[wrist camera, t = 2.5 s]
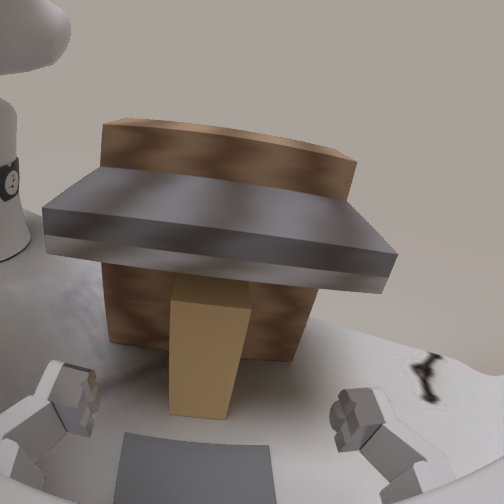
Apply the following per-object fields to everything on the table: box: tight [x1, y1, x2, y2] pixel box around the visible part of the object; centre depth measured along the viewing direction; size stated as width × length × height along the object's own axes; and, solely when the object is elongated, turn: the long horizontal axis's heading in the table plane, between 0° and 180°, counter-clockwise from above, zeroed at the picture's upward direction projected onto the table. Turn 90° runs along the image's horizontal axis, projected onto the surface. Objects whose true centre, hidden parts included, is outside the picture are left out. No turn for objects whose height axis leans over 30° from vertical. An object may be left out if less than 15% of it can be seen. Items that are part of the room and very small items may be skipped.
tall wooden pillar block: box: [169, 272, 252, 420], centre depth 24 cm, size 5×4×13 cm
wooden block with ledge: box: [42, 118, 398, 361], centre depth 26 cm, size 20×15×22 cm
